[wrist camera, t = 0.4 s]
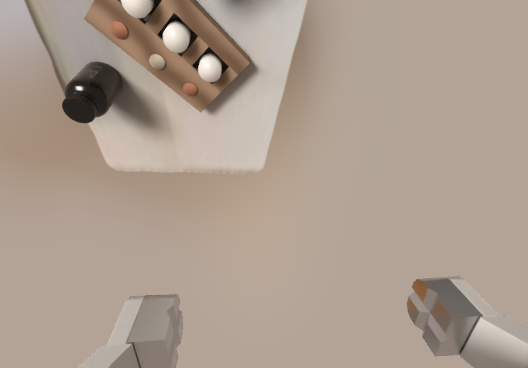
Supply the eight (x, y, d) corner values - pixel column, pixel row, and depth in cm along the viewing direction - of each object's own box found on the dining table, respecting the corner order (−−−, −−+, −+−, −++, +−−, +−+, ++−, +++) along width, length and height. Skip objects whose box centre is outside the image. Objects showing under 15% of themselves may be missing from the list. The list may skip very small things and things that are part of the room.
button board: (136, -63, 40) (129, -62, 37) (249, 57, 52) (249, 64, 50) (91, 14, 46) (83, 19, 43) (202, 104, 58) (200, 113, 56)
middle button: (175, 14, 45) (172, 20, 43) (195, 34, 47) (193, 40, 45) (161, 33, 47) (157, 39, 44) (181, 51, 49) (178, 58, 47)
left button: (135, -25, 41) (129, -21, 39) (159, -1, 43) (155, 3, 41) (121, -3, 43) (115, 2, 41) (145, 19, 45) (140, 24, 43)
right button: (209, 48, 49) (208, 54, 46) (226, 64, 51) (225, 71, 49) (195, 64, 50) (193, 70, 48) (212, 79, 53) (211, 86, 50)
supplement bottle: (80, 83, 54) (49, 115, 45) (89, 53, 50) (57, 81, 41) (117, 101, 57) (95, 135, 48) (128, 74, 53) (106, 105, 44)
